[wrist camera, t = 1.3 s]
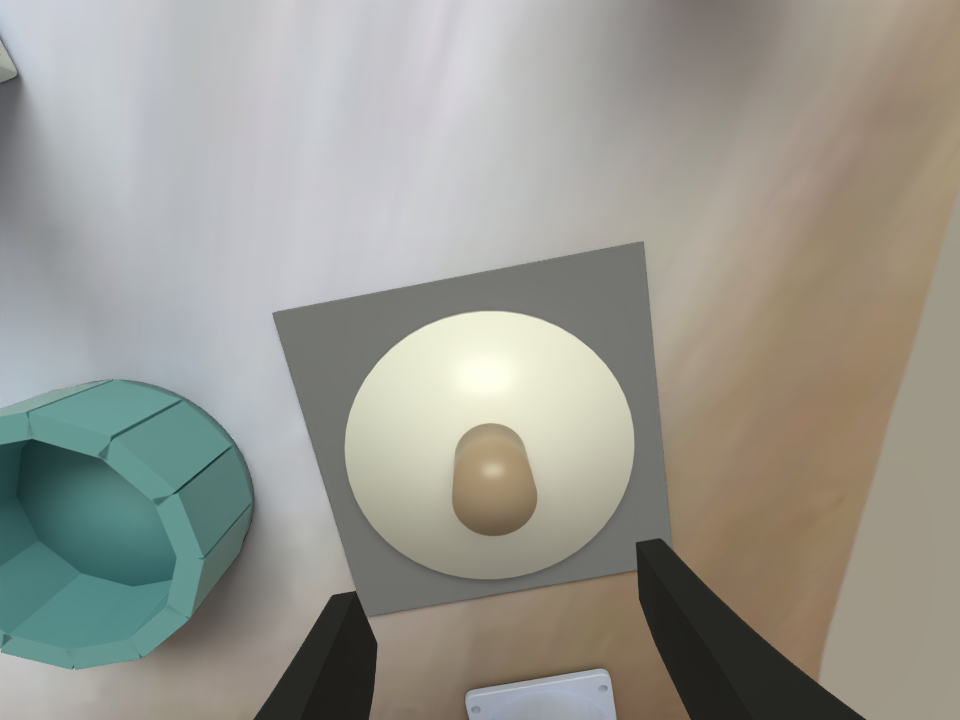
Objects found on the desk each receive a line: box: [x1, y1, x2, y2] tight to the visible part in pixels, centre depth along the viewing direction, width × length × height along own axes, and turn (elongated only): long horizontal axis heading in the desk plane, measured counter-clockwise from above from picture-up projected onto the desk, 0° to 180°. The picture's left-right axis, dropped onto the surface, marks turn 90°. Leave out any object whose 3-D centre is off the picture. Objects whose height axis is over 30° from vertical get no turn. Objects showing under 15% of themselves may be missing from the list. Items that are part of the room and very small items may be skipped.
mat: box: [272, 242, 673, 617], centre depth 21 cm, size 16×16×1 cm
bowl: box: [0, 379, 254, 670], centre depth 19 cm, size 11×11×4 cm
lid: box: [345, 310, 635, 579], centre depth 19 cm, size 13×13×4 cm
